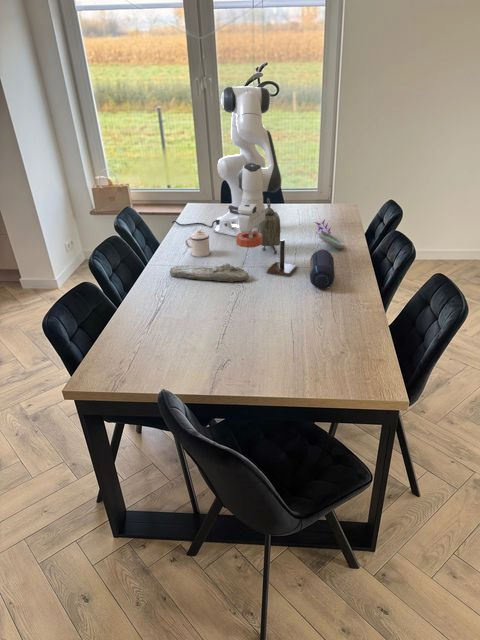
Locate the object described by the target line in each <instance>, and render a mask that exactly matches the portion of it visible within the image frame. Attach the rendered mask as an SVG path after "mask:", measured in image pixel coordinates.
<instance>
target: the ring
mask: <svg viewBox="0 0 480 640" xmlns="http://www.w3.org/2000/svg"><path fill="white" fill-rule="evenodd" d="M253 233H254V237H253V238H249V233H244V232H241V233H238V234H237V235H236V236H235V243H236V245H237V246H239V247H241V248H246V249H247V248H257V247H260V246H262V245H261V244H262V243H263V236H262V234H261V233H258V232H253Z"/></svg>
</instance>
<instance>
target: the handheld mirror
mask: <svg viewBox="0 0 480 640" xmlns="http://www.w3.org/2000/svg"><path fill="white" fill-rule="evenodd" d="M325 222H326V219H324V220H323V221H322V222H319V223H318V222H317V221H316V222H314V224H316V225H317V227H318V230H317V233H318V237H319V239H320V240H321V241H322V242H324V243H326V244H327V245H329V246H331V247H333V248H334V249H337V250H341V249H344V243H343V242H342V241H341V240H340V239H339V238H338V237H335V236H334V235H332V234H331V228H332V226H330V227H329V228H328V225H329V222H327V223H326V224H325Z"/></svg>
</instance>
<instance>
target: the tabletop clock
mask: <svg viewBox="0 0 480 640" xmlns="http://www.w3.org/2000/svg"><path fill="white" fill-rule="evenodd" d="M270 199H271V198H269V197H267V199H266V205H267V207H265V220H263V221H262V222H261V223H260V224H259V227H258V230H257V232H258V233H261V234H262V236H263V243H262V244H261V245H260V246H262V251H264V252H265V251H266V250H267V248H266V247H271V248H272V249H273V253H274V254H275V255H277V254H278V250H276V248H275V246H276V247H277V246H280V240H281V219H280V218H281V217H280V216H279V214H278V212H277V211H275V210H274V208H271V200H270Z"/></svg>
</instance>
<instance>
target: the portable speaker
mask: <svg viewBox="0 0 480 640" xmlns="http://www.w3.org/2000/svg"><path fill="white" fill-rule="evenodd" d="M309 262H310V265H309V277H310V278H309V279H310V283H311V284H312V286H314V287H315V288H316V289H319V290H325V289H329V288H331V286H332V285H333V284H334V281H335V278H336V276H335V275H336V274H335V263H334V256H333V255H332V253H331V252H330V251H329V250H327V249H324V248H323V249H318V250H316V251H314V252H313V253H312V255H311V257H310V261H309Z"/></svg>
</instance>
